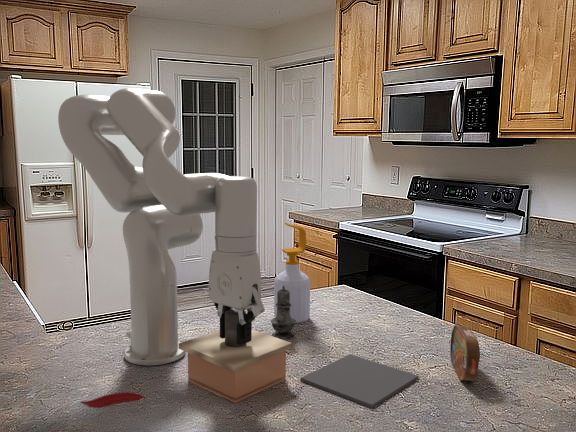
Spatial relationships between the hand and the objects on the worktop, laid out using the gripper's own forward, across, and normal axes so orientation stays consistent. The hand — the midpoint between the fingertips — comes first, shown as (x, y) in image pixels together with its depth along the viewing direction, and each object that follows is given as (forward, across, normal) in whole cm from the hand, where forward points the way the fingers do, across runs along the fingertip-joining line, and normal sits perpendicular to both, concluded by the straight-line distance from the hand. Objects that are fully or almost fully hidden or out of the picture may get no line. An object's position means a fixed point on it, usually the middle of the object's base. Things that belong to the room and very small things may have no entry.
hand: (235, 338), depth 105 cm
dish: (+8, 0, 0) cm, 8 cm away
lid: (+2, 0, 0) cm, 2 cm away
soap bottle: (+8, -17, +35) cm, 40 cm away
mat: (+8, +17, +16) cm, 25 cm away
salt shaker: (+8, -10, +24) cm, 27 cm away
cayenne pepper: (+9, -9, -20) cm, 24 cm away
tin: (+8, +30, +33) cm, 46 cm away
